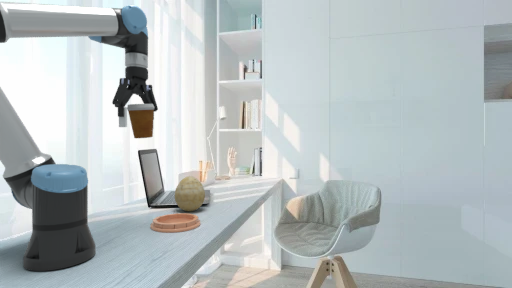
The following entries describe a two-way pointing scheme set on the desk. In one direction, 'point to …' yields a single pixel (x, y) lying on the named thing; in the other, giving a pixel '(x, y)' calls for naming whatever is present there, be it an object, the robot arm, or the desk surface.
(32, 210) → the robot arm
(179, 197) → the fossilized egg
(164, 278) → the desk surface
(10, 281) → the desk surface
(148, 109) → the disposable coffee cup
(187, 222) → the terracotta plant saucer
